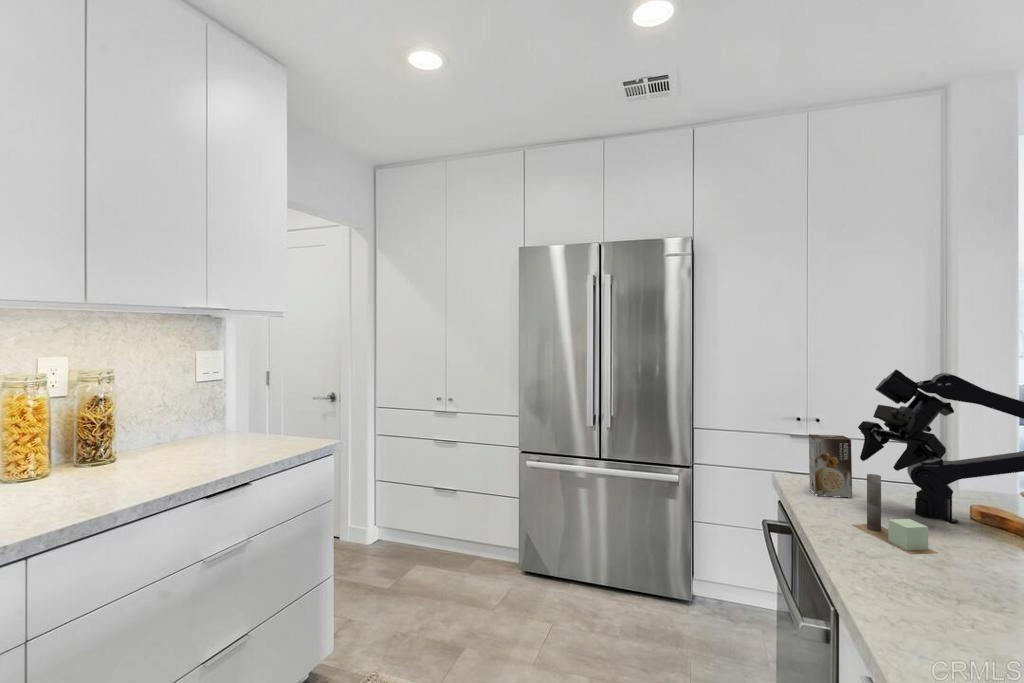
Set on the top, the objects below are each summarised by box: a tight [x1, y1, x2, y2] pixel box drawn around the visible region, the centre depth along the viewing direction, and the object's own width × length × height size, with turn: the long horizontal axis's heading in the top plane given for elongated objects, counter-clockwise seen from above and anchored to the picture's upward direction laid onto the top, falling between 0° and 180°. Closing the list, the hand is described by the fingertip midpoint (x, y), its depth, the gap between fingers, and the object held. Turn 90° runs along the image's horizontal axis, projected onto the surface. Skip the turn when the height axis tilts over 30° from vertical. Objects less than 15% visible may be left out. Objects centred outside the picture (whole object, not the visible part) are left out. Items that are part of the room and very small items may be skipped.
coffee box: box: [808, 433, 853, 499], centre depth 144 cm, size 9×6×16 cm
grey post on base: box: [851, 473, 939, 555], centre depth 110 cm, size 6×16×13 cm, turn 4°
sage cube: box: [887, 518, 929, 550], centre depth 107 cm, size 5×5×5 cm
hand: (877, 464), depth 123 cm, fingers open, 9 cm apart
